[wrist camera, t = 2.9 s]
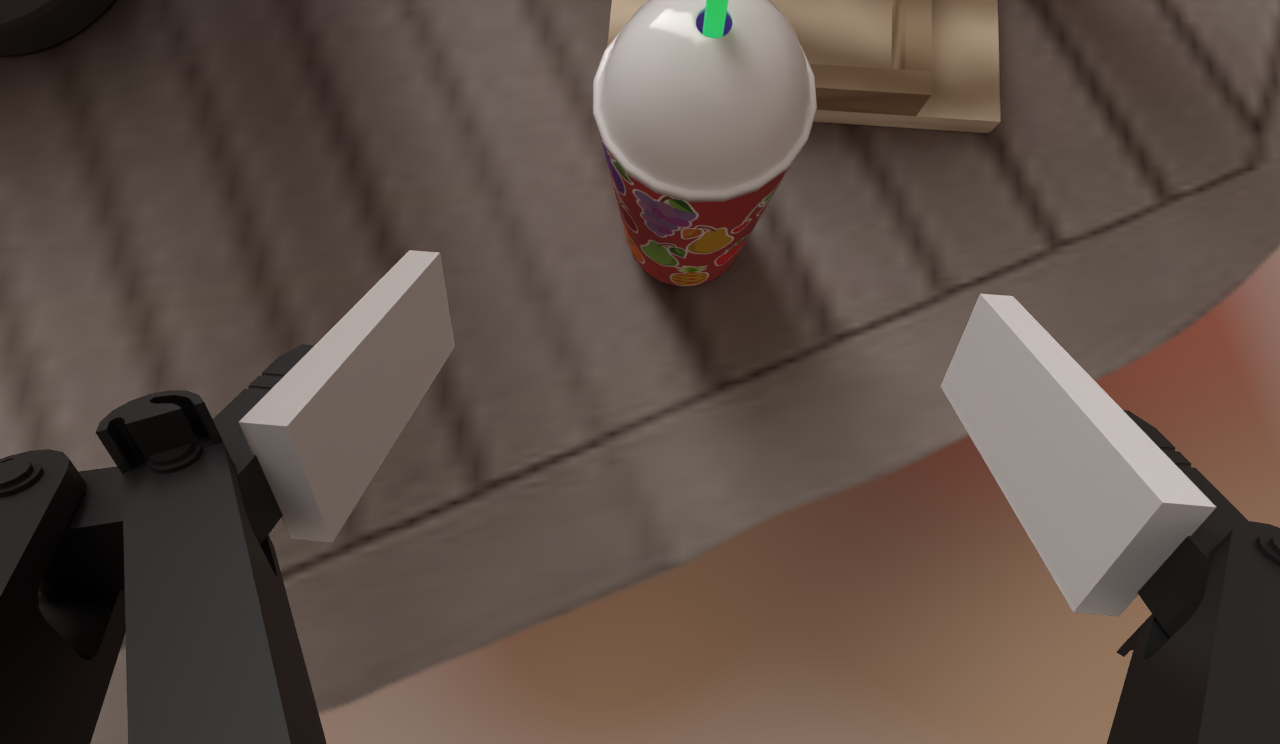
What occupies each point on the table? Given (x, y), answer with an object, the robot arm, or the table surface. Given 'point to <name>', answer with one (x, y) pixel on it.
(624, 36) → the smoothie
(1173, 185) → the table surface
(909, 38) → the wooden pedestal stand
